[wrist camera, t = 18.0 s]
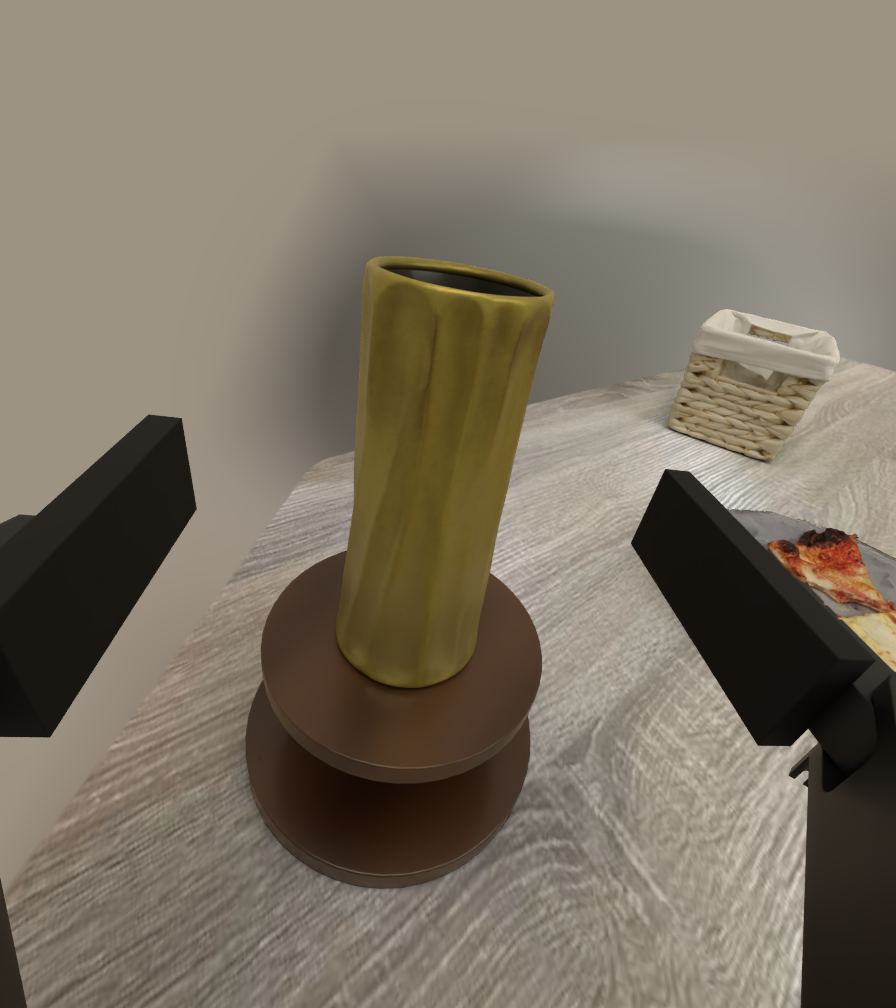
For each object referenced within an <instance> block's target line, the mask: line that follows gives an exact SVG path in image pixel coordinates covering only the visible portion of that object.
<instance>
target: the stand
mask: <svg viewBox="0 0 896 1008" xmlns="http://www.w3.org/2000/svg"><path fill="white" fill-rule="evenodd" d="M346 554H347V551H344V552H341V553H338V554H336V555H333V556H331V557H328V558H326V559H324V560H322V561H320V562H318V563H317V564H315V565H313V566H312V567H310V568H309V569H307V570H306V571H304V572H303V573H302V574H300V575H299V576H298V577H297V578H296V579H294V580H293V581H292V582H291V583H290V584H289V585H288V586H287V588H286V589H285V590H284V591H283V592H282V593H281V595H280V596H279V598H278V599H277V601H276V602H275V604H274V605H273V607H272V609H271V611H270V613H269V615H268V618H267V620H266V624H265V627H264V630H263V635H262V643H261V661H262V673H263V681H262V682H261V684H260V686H259V688H258V691H257V693H256V695H255V697H254V700H253V702H252V706H251V710H250V713H249V717H248V723H247V730H246V760H247V767H248V773H249V778H250V784H251V789H252V792H253V795H254V798H255V801H256V804H257V807H258V809H259V810H260V812H261V814H262V816H263V818H264V820H265V822H266V824H267V826H268V827H269V828H270V830H271V831H272V832H273V834H274V835H275V836H276V838H277V839H278V840H279V841H280V843H281V844H282V845H283V846H284V847H286V848H287V849H288V850H289V851H290V852H291V853H292V854H293V855H294V856H295V857H296V858H297V859H299V860H300V861H302V862H303V863H305V864H306V865H308V866H309V867H311V868H312V869H314V870H315V871H318V872H320V873H322V874H324V875H326V876H328V877H330V878H333V879H335V880H338V881H342V882H345V883H349V884H353V885H356V886H363V887H373V888H397V887H406V886H411V885H416V884H421V883H425V882H428V881H431V880H433V879H436V878H438V877H441V876H444V875H446V874H448V873H450V872H452V871H453V870H455V869H457V868H459V867H460V866H462V865H464V864H465V863H467V862H468V861H469V860H471V859H472V858H473V857H474V856H476V855H477V854H478V853H479V852H481V851H482V850H483V849H484V848H485V847H486V846H487V844H488V843H489V842H490V841H491V840H492V839H493V838H494V837H495V836H496V835H497V833H498V832H499V830H500V829H501V827H502V826H503V824H504V823H505V821H506V820H507V818H508V817H509V814H510V812H511V810H512V808H513V806H514V804H515V802H516V800H517V798H518V796H519V794H520V792H521V789H522V786H523V783H524V780H525V777H526V774H527V769H528V763H529V757H530V730H529V721H528V714H529V711H530V709H531V707H532V704H533V702H534V699H535V697H536V694H537V691H538V688H539V684H540V679H541V673H542V654H541V647H540V641H539V638H538V635H537V632H536V628H535V626H534V624H533V622H532V620H531V618H530V616H529V614H528V612H527V611H526V609H525V608H524V606H523V605H522V603H521V602H520V601H519V599H518V598H517V597H516V596H515V595H514V593H513V592H512V591H511V590H510V589H509V588H508V587H507V586H506V585H505V584H504V583H502V582H501V581H500V580H499V579H497V578H496V577H495V576H494V575H492V574H491V573H490V574H489V578H488V583H487V587H486V591H485V596H484V601H483V605H482V610H481V614H480V619H479V625H478V634H477V644H476V647H475V650H474V653H473V655H472V657H471V658H470V660H469V661H468V663H467V664H466V665H465V666H464V668H463V669H461V670H460V671H459V672H458V673H457V674H455V675H454V676H452V677H450V678H449V679H447V680H444V681H442V682H439V683H437V684H434V685H430V686H426V687H420V688H403V687H395V686H390V685H386V684H383V683H380V682H378V681H375V680H373V679H371V678H370V677H368V676H367V675H365V674H364V673H362V672H361V671H360V670H358V669H357V668H356V667H354V666H353V665H352V664H351V663H350V662H349V661H348V660H347V658H346V657H345V656H344V654H343V653H342V651H341V649H340V647H339V644H338V641H337V636H336V618H337V614H338V610H339V603H340V596H341V589H342V582H343V574H344V567H345V561H346Z"/></svg>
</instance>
